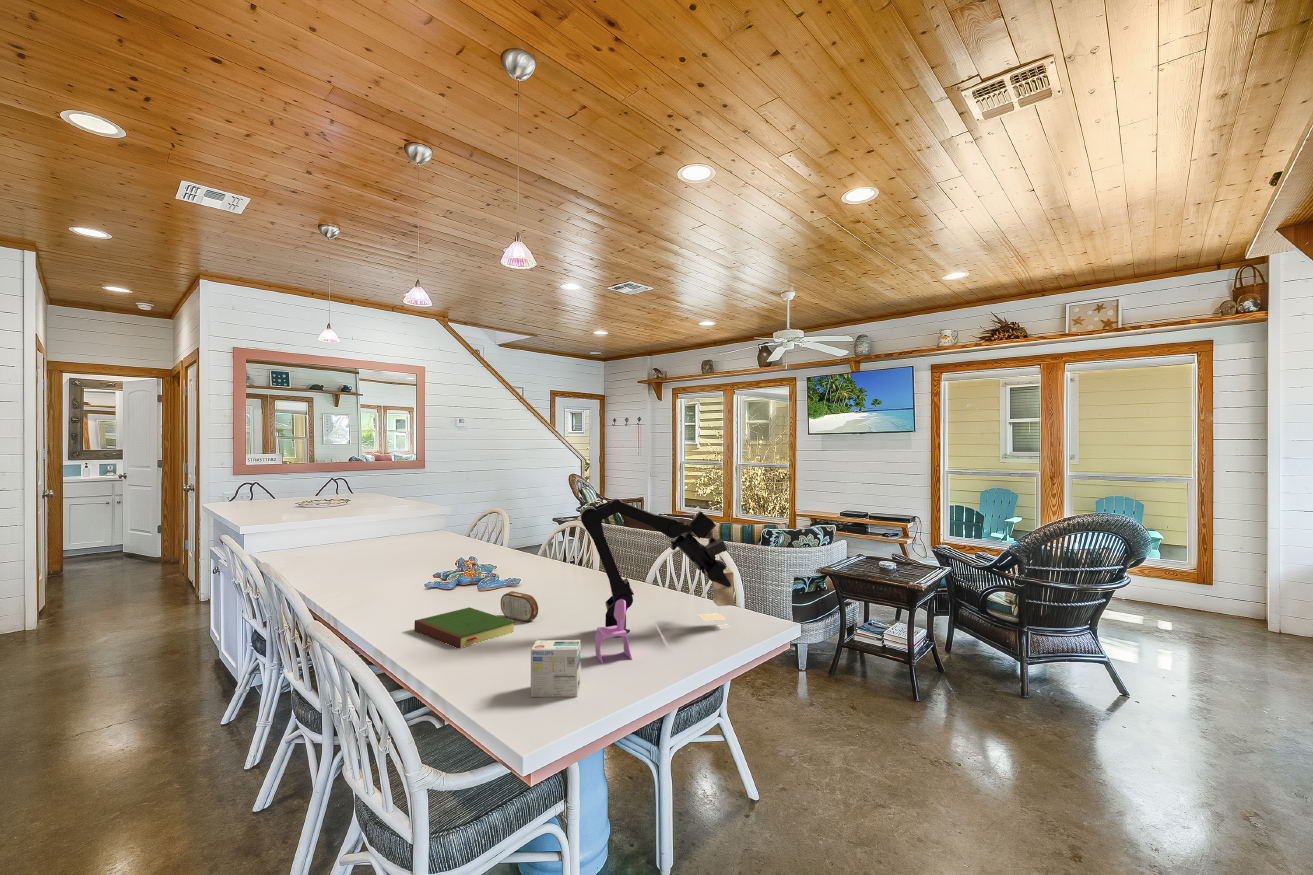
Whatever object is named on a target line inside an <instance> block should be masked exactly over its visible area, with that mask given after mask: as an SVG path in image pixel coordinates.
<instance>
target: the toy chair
mask: <svg viewBox="0 0 1313 875" xmlns="http://www.w3.org/2000/svg"><path fill="white" fill-rule="evenodd" d="M625 615H626V616H627V611H626V601H625V600H622V599H620V600H618V601H617V602H616V603H615V609H614V617H615V619H616V620H617V626H611V627H605V626H601V627H596V631H595V634H594V649H595V650H594V651H595V656H596V658H597V659H598V660H599V662H600V663H601V664H602V665H603V664H604V662H603V658H602V654H601V652H602V651H601V647H602V643H603V641H604V640H605V639H606V640H607V639H609V638H615V637H616V636H620V637H621V639H622V642H623V643H622V644H623V652H624V654H625V655H626V656H627V657H628V658H629V659H630V660H631V661H632V660H633V657H632V654H631V649H630V645H629V636H628V635H627V634H628V633H627V632H626V631H625V630H624V622H625ZM616 638H617V637H616Z"/></svg>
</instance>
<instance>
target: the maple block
mask: <svg viewBox="0 0 1313 875" xmlns="http://www.w3.org/2000/svg"><path fill="white" fill-rule="evenodd" d="M723 572H724V574H725V576H726V577H727V579H728V581H729V582H730V584H731V586H730V587H726V586H724V585H722V584H719V583H717V582H714V581H712V583H713V585H712V586H713V593H712V594H713V595H712V598H713V599H712V600H713V601H712V602H713V603H714V604H715V605H716V606H717V607H722V606H723V607H725V606H726V607H727V606H734V572H733V571H732V570H731V569H729V568H728V569H726V568H725V569H724V571H723Z"/></svg>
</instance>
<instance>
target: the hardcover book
mask: <svg viewBox="0 0 1313 875" xmlns="http://www.w3.org/2000/svg"><path fill="white" fill-rule="evenodd" d="M515 623H516V621H514V620H512V619H507V618H505V617H501V616H498V615H495V614H491V613H488V612H485V611H482V610H479V609H476V608H473V607H466V608H465V607H464V608H461V609H456V610H454V611H449V612H443V613H440V614H436V615H432V616H428V617H424V618H419V619H415V620H414V632H415V633H417V632H418V634H420V635H422V634H423V636H425V637H427V636H428V638H430V639H433V640H435V641H437V640H438V641H437V642H440V641H441V642H440V643H442V642H443V644H445V643H447V644H449V645H448V646H450V645H451V646H450V647H452V646H454V647H453V648H455V647H456V648H455V649H457V648H461V647H464V646H467V647H469V646H468V645H470V646H472V645H471V644H474V643H477V644H480V643H483V642H482V641H484V642H486V641H485V640H487V641H489V640H488V639H490V640H493V638H494V639H496V638H495V637H497V638H499V636H500V637H503V635H504V636H507V635H510V634H513V633H512V632H514V633H515V631H514V630H515ZM509 633H510V634H509ZM506 634H507V635H506ZM479 642H480V643H479ZM447 644H446V645H447ZM474 645H475V644H474ZM464 648H465V647H464ZM461 649H462V648H461Z"/></svg>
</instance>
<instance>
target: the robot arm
mask: <svg viewBox="0 0 1313 875" xmlns="http://www.w3.org/2000/svg"><path fill="white" fill-rule="evenodd" d="M615 514H620V515H622V516H624V517H626V518H630V519H632V520H635V521H638V522H640V523H643V524H645V525H648V526H650V527H652V528H654V529H655V530H656V531H658V532H660V533H661V534H663V535H664V536H666V537H667V538H670V539H671V540H670V541H669V542H670V549H671V550H672V551H675V550H676V549H677V548H678V549H679V550H680V551H681V552H682V553H683V554H684V555H685V556H686V557H687V558H688V560H690V561H691V562H692V563H693V565H694V567H695V568H696V569H697V570H698V571H699V572H700V571H701V573H702V574H703V575H705V577H706V578H707V579H708V580H710V582H713V581H714V582H717V583H719V584H722V585H724V586H726V587H730V586H731V584H730V582H729V581H728V579H727V577H726V576H725V574H724V572H723V571H724V569H726V568H727V566H726V565H725V564H724V563H723V562H722V561H721V560H719V559H716V558H717V557H716V556H717V555H719V554H721V553H724V552H727V551H728V547H727V546H726V543H725V541H724V539H722V538H717V539H716V538H714V536H713V537H710V538H708V543H706V545H704V544H703V543H700V541H698V540H699V539H700V538H701V539H705V538H706V537H707V536H708V535H709V534H710V533H711V532H712V531H713V530H714V529H715V528H716V527H717V524H716V523H715V522H714V521H713V520H712V519H711V518H709V517H708V516H707V515H706V514H705V513H704V512H703V511H701V510H699V511H698V512H697V513H696V515H695V516H693V518H692V519H691V520H690V521H689V522H685V521H679V520H678V519H676V518H675V517H672V516H666V515H661V514H656V513H653V512H649V511H647V510H644V509H643V508H640V507H637V506H634V505H632V504H629V503H627V502H625V501H623V500H621V499H619V498H612V499H611V500H609V501H607V502H604V503H602V504H599V505H597V506H596V505H595V506H586V507H585V508H583V509H582V510H581V512H580V520H581V524H582V525H583V527H584V528H585V530H586V531H587V533H588V534H589V536H590V537H591V539H592V542H593V544H594V545H595V548H596V551H597V553H598V556H599V558H600V561H601V564H602V566H603V569H604V571H605V573H606V575H607V578H608V582H609V585H610V586H609V587H610V593H611V596H610V597H609V598H608V599H607V600H606V601H605V607H606V612H605V626H604V627H611V626H617V620H616V619H615V617H614V609H615V603H616V602H617V601H618V600H620V599H622V600H625V601H626V612H627V611H628V609H629V608H630V607H631V606H632V604H633V602H634V597H633V596H634V595H635V594H634V591H633V589H632V588H631V584H630V581H629V579H628V578H627V577H626V578H624V579H623V578H622V576H621V574H620V572H619V569H618V567H617V564H616V562H615V559H614V556H613V554H612V551H611V549H610V547H609V545H608V542H607V540H606V537H605V534H604V529H603V524H602V523H603V522H602V521H604V520H605V519H607V518H609V517H611V516H614V515H615ZM696 537H697V539H698V540H697V539H696ZM672 539H674V540H672ZM624 630H625V631H626V632H627V634H628V633H630V632H631V630H630V629H629V628H628V629H627V614H626V615H625V622H624ZM620 637H621V636H616V638H620Z"/></svg>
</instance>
